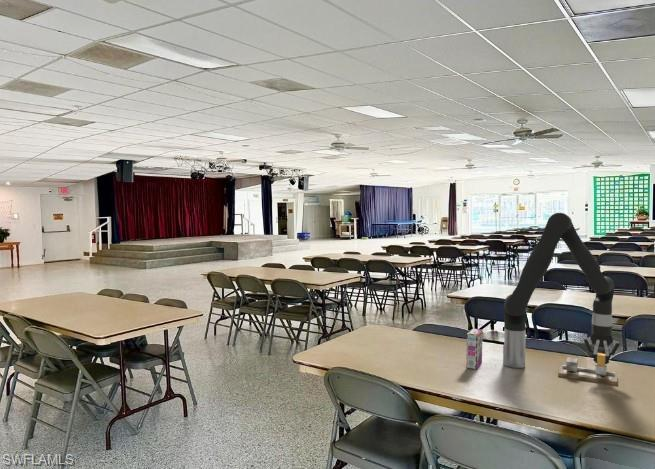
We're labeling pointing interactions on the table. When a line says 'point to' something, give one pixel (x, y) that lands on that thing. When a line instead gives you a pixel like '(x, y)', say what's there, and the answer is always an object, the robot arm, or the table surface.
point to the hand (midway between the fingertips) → (601, 363)
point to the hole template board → (585, 373)
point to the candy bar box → (474, 349)
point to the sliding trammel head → (600, 364)
